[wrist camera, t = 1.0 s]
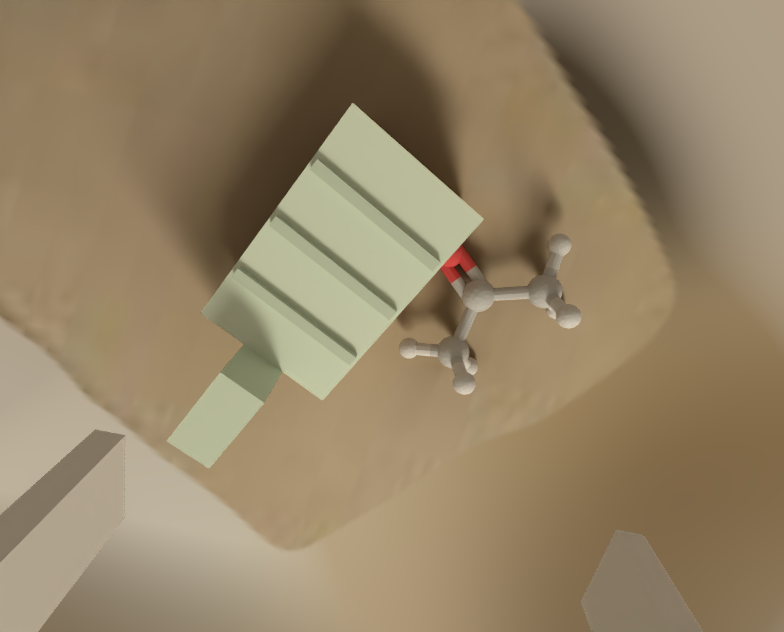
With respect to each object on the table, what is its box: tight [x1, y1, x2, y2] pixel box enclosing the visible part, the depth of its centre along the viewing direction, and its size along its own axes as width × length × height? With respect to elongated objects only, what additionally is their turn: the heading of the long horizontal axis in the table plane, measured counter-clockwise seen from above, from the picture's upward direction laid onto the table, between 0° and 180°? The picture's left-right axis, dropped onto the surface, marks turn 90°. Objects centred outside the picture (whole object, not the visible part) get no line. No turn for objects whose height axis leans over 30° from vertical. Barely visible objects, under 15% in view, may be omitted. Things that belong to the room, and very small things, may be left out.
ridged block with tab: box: [167, 103, 484, 468], centre depth 27 cm, size 10×22×5 cm, turn 141°
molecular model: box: [399, 234, 581, 395], centre depth 33 cm, size 14×8×10 cm
